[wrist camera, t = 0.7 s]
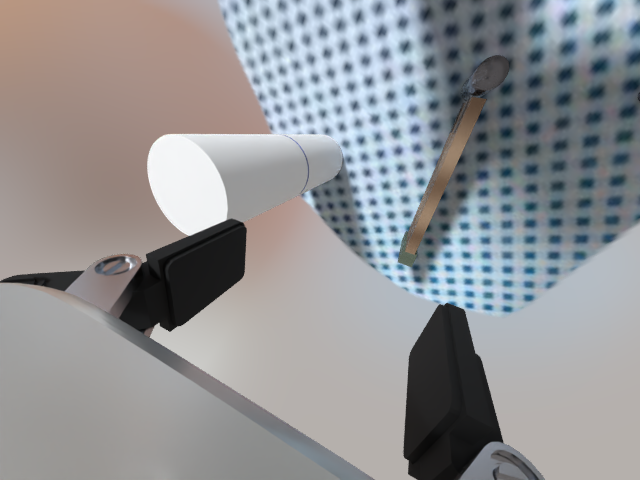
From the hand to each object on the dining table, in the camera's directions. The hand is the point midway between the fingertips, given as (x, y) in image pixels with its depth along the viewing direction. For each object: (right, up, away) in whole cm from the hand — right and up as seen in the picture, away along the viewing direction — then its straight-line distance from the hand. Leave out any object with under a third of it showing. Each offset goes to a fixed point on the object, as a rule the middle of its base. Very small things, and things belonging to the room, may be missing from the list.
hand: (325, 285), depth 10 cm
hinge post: (+18, +20, +17) cm, 31 cm away
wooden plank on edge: (+15, +10, +21) cm, 28 cm away
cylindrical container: (0, +15, +27) cm, 31 cm away
